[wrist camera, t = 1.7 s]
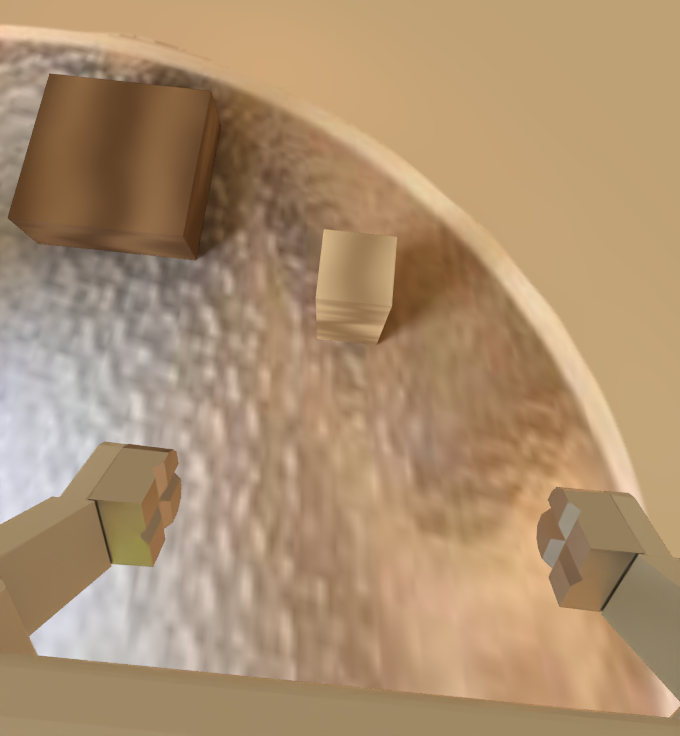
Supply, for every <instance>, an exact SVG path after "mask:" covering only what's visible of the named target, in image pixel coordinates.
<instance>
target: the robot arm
mask: <svg viewBox="0 0 680 736" xmlns="http://www.w3.org/2000/svg"><path fill="white" fill-rule="evenodd" d="M177 466H178V458H177V452H176V451H174V450H173V449H165V448H156V447H148V446H140V445H132V444H119V443H111V442H103V443H102V444H100V445H98V446H97V448H96V449H95V450H94V452H93V453H92V454H91V456H90V457H89V458H88V460H87V461H86V462H85V464H84V465H83V466H82V468H81V469H80V470H79V472H78V473H77V474H76V476H75V477H74V478H73V480H72V481H71V483H70V484H69V485H68V487H67V488H66V489H65V491H64V492H63V493H62V495H61V496H60V497H51V498H49V499H47V500H45V501H43V502H41V503H40V504H38V505H36V506H34V507H32V508H30V509H28V510H27V511H25V512H23V513H21V514H19V515H17V516H15V517H14V518H12V519H10V520H8V521H6V522H4V523H2V524H1V525H0V736H680V707H679V708H678V709H677V710H676V711H675V712H674V713H673V714H672V715H671V717H670V718H666V717H656V716H646V715H636V714H626V713H616V712H606V711H595V710H585V709H575V708H565V707H555V706H545V705H534V704H524V703H514V702H504V701H494V700H484V699H474V698H463V697H453V696H443V695H433V694H423V693H413V692H403V691H392V690H382V689H372V688H362V687H351V686H341V685H331V684H321V683H310V682H300V681H290V680H280V679H269V678H259V677H249V676H239V675H229V674H219V673H209V672H199V671H189V670H178V669H168V668H158V667H148V666H138V665H128V664H118V663H108V662H98V661H87V660H77V659H67V658H57V657H47V656H38V654H37V652H36V650H35V648H34V646H33V644H32V642H31V640H30V637H29V636H30V635H31V634H32V633H33V632H34V631H35V630H37V629H38V628H39V627H40V626H41V625H43V624H44V623H45V622H46V621H47V620H48V619H50V618H51V617H52V616H53V615H54V614H56V613H57V612H58V611H59V610H60V609H61V608H63V607H64V606H65V605H66V604H67V603H69V602H70V601H71V600H72V599H73V598H74V597H76V596H77V595H78V594H79V593H80V592H82V591H83V590H84V589H85V588H86V587H87V586H89V585H90V584H91V583H92V582H93V581H95V580H96V579H97V578H98V577H99V576H100V575H102V574H103V573H104V572H105V571H106V570H108V569H109V568H110V567H111V564H120V565H135V566H149V567H153V566H154V564H155V562H156V559H157V557H158V555H159V553H160V550H161V548H162V546H163V544H164V542H165V534H164V528H166V527H167V526H168V525H170V524H171V523H173V521H174V519H175V516H176V514H177V512H178V508H179V503H180V499H181V480H180V478H179V477H178V476H177V475H176V474H175V473H174V472H175V470H176V468H177ZM548 501H549V503H550V506H551V509H549V510H548V511H546V512H544V513H543V514H542V515H541V517H540V520H539V523H538V525H537V543H538V549H539V552H540V555H541V558H542V559H543V560H544V561H545V562H546V563H547V564H548V565H549V566H550V567H551V568H552V571H551V573H550V575H549V580H550V582H551V585H552V588H553V591H554V593H555V596H556V599H557V601H558V604H559V607H565V608H573V609H581V610H589V611H596V612H602V613H601V615H602V616H603V617H604V618H605V619H606V620H607V621H608V623H609V624H610V625H611V626H612V627H613V628H614V629H615V630H616V631H617V632H618V634H619V635H620V636H621V637H622V638H623V639H624V640H625V641H626V642H627V644H628V645H629V646H630V647H631V648H632V649H633V650H634V651H635V652H636V654H637V655H638V656H639V657H640V658H641V659H642V660H643V661H644V662H645V663H646V665H647V666H648V667H649V668H650V669H651V670H652V671H653V672H654V673H655V675H656V676H657V677H658V678H659V679H660V680H661V681H662V682H663V683H664V684H665V686H666V687H667V688H668V689H669V690H670V691H671V692H672V693H673V694H674V696H675V697H676V698H677V699H678V700H679V701H680V558H673V557H672V555H671V554H670V552H669V551H668V549H667V547H666V546H665V544H664V543H663V541H662V539H661V538H660V536H659V535H658V533H657V532H656V530H655V529H654V527H653V525H652V524H651V522H650V521H649V519H648V518H647V516H646V515H645V513H644V511H643V510H642V508H641V507H640V505H639V504H638V502H637V501H636V499H635V498H634V497H633V496H632V495H630V494H629V493H622V492H610V491H603V492H602V491H596V490H584V489H573V488H562V487H556V488H555V489H554V490H553V491H552V492H551V494H550V496H549V499H548Z"/></svg>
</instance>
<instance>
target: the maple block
mask: <svg viewBox="0 0 680 736" xmlns="http://www.w3.org/2000/svg"><path fill="white" fill-rule="evenodd" d="M396 246H397V237H392V236H383V235H374V234H364V233H355V232H346V231H336V230H327V229H324V232H323V240H322V249H321V258H320V266H319V275H318V283H317V292H316V318H317V339H325V340H335V341H344V342H354V343H364V344H373V345H377V342H378V340H379V337H380V335H381V332H382V330H383V327H384V325H385V322H386V320H387V317H388V315H389V312H390V310H391V307H392V298H393V285H394V272H395V259H396Z"/></svg>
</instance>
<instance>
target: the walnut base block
mask: <svg viewBox="0 0 680 736" xmlns="http://www.w3.org/2000/svg"><path fill="white" fill-rule="evenodd" d="M220 128H221V125H220V122H219V118H218V115H217V111H216V108H215V104H214V101H213V97H212V94H211V91H205V90H196V89H187V88H178V87H169V86H159V85H150V84H141V83H132V82H123V81H114V80H104V79H95V78H86V77H77V76H68V75H59V74H49V77H48V80H47V84H46V87H45V91H44V94H43V98H42V101H41V105H40V108H39V112H38V115H37V118H36V122H35V125H34V129H33V132H32V136H31V139H30V143H29V146H28V149H27V153H26V156H25V160H24V163H23V167H22V170H21V174H20V177H19V180H18V184H17V187H16V191H15V194H14V198H13V201H12V205H11V208H10V211H9V215H8V219H9V220H11V221H12V222H13V223H14V224H15V225H17V226H18V227H19V228H20V229H21V230H23V231H24V232H25V233H26V234H27V235H29V236H30V237H31V238H32V239H33V240H35V241H36V242H37V243H38V244H48V245H57V246H67V247H76V248H86V249H95V250H105V251H114V252H124V253H133V254H143V255H152V256H162V257H171V258H181V259H190V260H196V259H197V254H198V248H199V243H200V237H201V232H202V226H203V221H204V216H205V210H206V205H207V199H208V194H209V188H210V183H211V177H212V172H213V166H214V161H215V155H216V150H217V144H218V139H219V133H220Z"/></svg>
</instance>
